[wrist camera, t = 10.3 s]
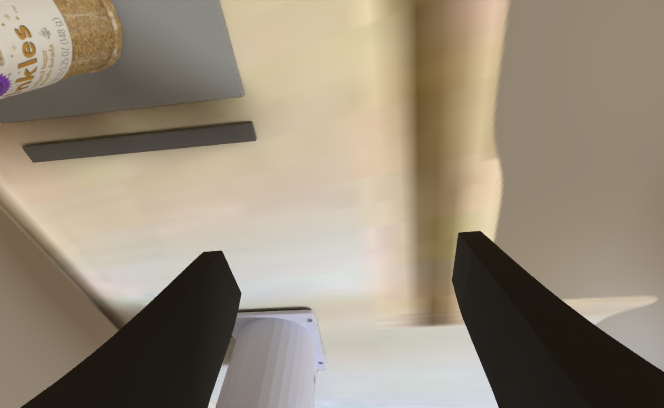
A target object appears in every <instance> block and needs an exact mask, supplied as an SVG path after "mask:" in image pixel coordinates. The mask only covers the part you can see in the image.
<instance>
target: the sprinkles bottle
mask: <svg viewBox="0 0 664 408" xmlns="http://www.w3.org/2000/svg"><path fill="white" fill-rule="evenodd" d="M122 48H123V32H122V25H121V21H120V19H119V17H118V15H117V12H116V9H115V7H114V5H113V4H112V2H111V0H0V99H3V98H7V97H10V96H14V95H17V94H21V93H24V92H28V91H31V90H34V89H38V88H41V87H45V86H48V85H51V84H54V83H56V82H57V81H59V80H62V79H65V78H69V77H73V76H76V75H79V74H83V73H94V72H100V71H103V70H105V69H107V68H109V67H111V66H112V65H113V64H115V62H116V61H117V60H118V59H119V58H120V55H121V51H122Z"/></svg>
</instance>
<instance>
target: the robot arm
mask: <svg viewBox="0 0 664 408" xmlns="http://www.w3.org/2000/svg"><path fill="white" fill-rule="evenodd" d="M452 283H453V286H454V290H455V294H456V298H457V301H458V305H459V308H460V312H461V314H462V317H463V320H464V322H465V325H466V327H467V329H468V332H469V334H470V337H471V339H472V342H473V344H474V347H475V349H476V352H477V354H478V356H479V359H480V361H481V364H482V366H483V369H484V371H485V373H486V376H487V378H488V381H489V383H490V386H491V388H492V391H493V393H494V396H495V399H496V401H497V404H498V407H499V408H664V372H663V371H662V370H660V369H659V368H657V367H655V366H654V365H652V364H651V363H649V362H648V361H646V360H645V359H643V358H642V357H640V356H639V355H637V354H636V353H634V352H633V351H631V350H630V349H628V348H627V347H625V346H624V345H622V344H621V343H619V342H618V341H616V340H615V339H613V338H612V337H611V336H609V335H608V334H606V333H605V332H603V331H602V330H601V329H599V328H598V327H596V326H595V325H594V324H592V323H591V322H590V321H588V320H587V319H586V318H584V317H583V316H582V315H580V314H579V313H578V312H576V311H575V310H574V309H572V308H571V307H570V306H568V305H567V304H566V303H564V302H563V301H562V300H561V299H559V298H558V297H557V296H555V295H554V294H553V293H552V292H551V291H549V290H548V289H547V288H546V287H545V286H543V285H542V284H541V283H540V282H538V281H537V280H536V279H535V278H534V277H532V276H531V275H530V274H529V273H528V272H526V271H525V270H524V269H523V268H522V267H521V266H519V265H518V264H517V263H516V262H515V261H514V260H513V259H511V258H510V257H509V256H508V255H507V254H506V253H505V252H503V251H502V250H501V249H500V248H499V247H498V246H497V245H496V244H495V243H493V242H492V241H491V240H490V239H489V238H488V237H487V236H485V235H484V234H483V233H482V232H481V231H474V232H461V233H458V240H457V247H456V254H455V262H454V269H453V277H452ZM240 298H241V291H240V289H239V287H238V285H237V283H236V280H235V278H234V276H233V274H232V272H231V269H230V267H229V265H228V263H227V261H226V259H225V256H224V254H223V252H222V251H210V252H203V253H202V254H201V255H200V256H198V257H197V258H196V259H195V260H194V261H193V262H192V263H191V264H190V265H189V266H188V267H187V268H186V269H185V270H184V271H183V272H182V273H180V274H179V275H178V276H177V277H176V278H175V279H174V280H173V281H172V282H171V283H170V284H169V285H168V286H167V287H166V288H165V289H164V290H163V291H162V292H161V293H160V294H159V295H158V296H157V297H155V298H154V299H153V300H152V301H151V302H150V303H149V304H148V305H147V306H146V307H145V308H144V309H143V310H142V311H141V312H139V313H138V314H137V315H136V316H135V317H134V318H133V319H132V320H130V321H129V322H128V323H127V324H126V325H125V326H124V327H123V328H121V329H120V330H119V331H118V332H117V333H116V334H115V335H114V336H113V337H111V338H110V339H109V340H108V341H107V342H106V343H104V344H103V345H102V346H101V347H100V348H98V349H97V350H96V351H95V352H94V353H92V354H91V355H90V356H89V357H87V358H86V359H85V360H84V361H82V362H81V363H80V364H79V365H77V366H76V367H75V368H73V369H72V370H71V371H70V372H68V373H67V374H66V375H65V376H63V377H62V378H61V379H59V380H58V381H57V382H56V383H54V384H53V385H52V386H50V387H48V388H47V389H46V390H44V391H43V392H41V393H40V394H39V395H37V396H36V397H35V398H33V399H32V400H30V401H29V402H28V403H26V404H25V405H23V406H22V407H21V408H208V404H209V401H210V398H211V395H212V392H213V389H214V386H215V383H216V380H217V377H218V374H219V371H220V368H221V365H222V362H223V359H224V356H225V354H226V351H227V348H228V345H229V342H230V339H231V336H233V338H234V340H235V342H236V343H235V346H234V350H233V353H232V356H231V359H230V362H229V366H228V369H227V372H226V375H225V379H224V382H223V385H222V388H221V392H220V395H219V398H218V401H217V404H216V408H314V401H315V387H316V373H317V371H322V370H325V369H326V368H327V364H326V360H325V356H324V351H323V347H322V343H321V339H320V335H319V330H318V326H317V322H316V318H315V314H314V312H313V311H312V310H288V311H266V312H243V313H238V309H239V303H240Z"/></svg>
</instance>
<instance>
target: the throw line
mask: <svg viewBox="0 0 664 408" xmlns="http://www.w3.org/2000/svg"><path fill="white" fill-rule="evenodd" d="M256 139H257V138H256V134H255V130H254V127H253V123H252V122H247V123H237V124H227V125H218V126H208V127H199V128H189V129H179V130H170V131H160V132H150V133H141V134H131V135H121V136H112V137H102V138H92V139H83V140H73V141H63V142H54V143H44V144H35V145H26V146H24V147H22V148H23V149H24V151H25V152H26V154H27V155H28V156H29V158H30V159H31V160H32V162H33V163H34V162H44V161H54V160H64V159H75V158H85V157H95V156H105V155H116V154H126V153H136V152H146V151H157V150H167V149H177V148H187V147H198V146H208V145H218V144H228V143H239V142H249V141H256Z"/></svg>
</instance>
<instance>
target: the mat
mask: <svg viewBox="0 0 664 408" xmlns="http://www.w3.org/2000/svg"><path fill="white" fill-rule="evenodd" d="M111 2H112V4H113V5H114V7H115V9H116V12H117V15H118V17H119V19H120V21H121V25H122V32H123V48H122V51H121V55H120V58H119V59H118V60H117V61H116V62H115V64H113V65H112V66H111V67H109V68H107V69H105V70H103V71H100V72H94V73H83V74H79V75H76V76H73V77H69V78H65V79H62V80H59V81H57V82H56V83H54V84H51V85H48V86H45V87H41V88H38V89H34V90H31V91H28V92H24V93H21V94H17V95H14V96H10V97H7V98H3V99H0V121H1V123H11V122H20V121H29V120H38V119H47V118H56V117H65V116H74V115H83V114H92V113H101V112H110V111H119V110H127V109H136V108H145V107H154V106H163V105H172V104H181V103H190V102H199V101H208V100H217V99H226V98H235V97H243V96H244V95H245V93H244V90H243V86H242V82H241V78H240V75H239V71H238V67H237V64H236V60H235V56H234V52H233V49H232V45H231V41H230V38H229V34H228V30H227V27H226V23H225V19H224V15H223V12H222V8H221V4H220V1H219V0H111Z"/></svg>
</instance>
